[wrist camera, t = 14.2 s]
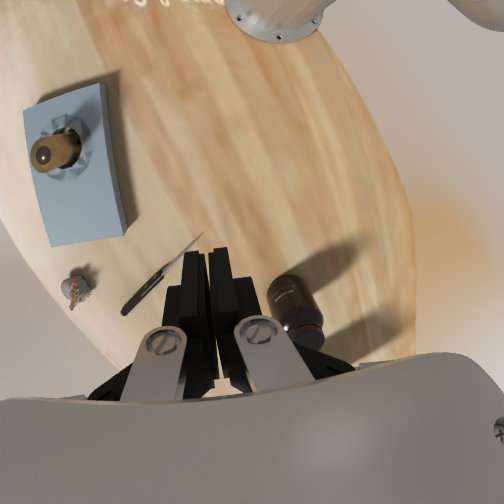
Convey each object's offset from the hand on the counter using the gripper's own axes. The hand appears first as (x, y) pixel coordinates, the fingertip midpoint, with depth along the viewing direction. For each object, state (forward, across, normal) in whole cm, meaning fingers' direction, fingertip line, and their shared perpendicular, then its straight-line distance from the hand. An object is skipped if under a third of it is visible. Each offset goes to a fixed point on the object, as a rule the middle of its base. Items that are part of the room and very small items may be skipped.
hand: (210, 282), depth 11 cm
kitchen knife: (+27, +9, +15) cm, 33 cm away
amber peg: (+27, +18, -6) cm, 33 cm away
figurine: (+27, +23, +15) cm, 39 cm away
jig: (+27, +18, -3) cm, 33 cm away
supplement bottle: (+27, -10, +21) cm, 36 cm away
